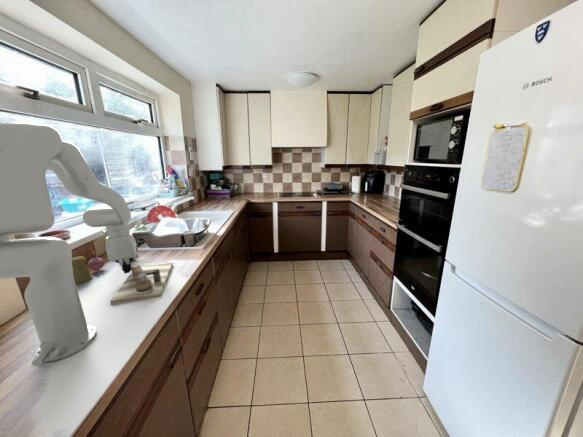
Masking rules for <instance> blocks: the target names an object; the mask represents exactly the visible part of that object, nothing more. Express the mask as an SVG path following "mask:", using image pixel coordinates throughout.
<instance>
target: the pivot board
mask: <svg viewBox="0 0 583 437" xmlns="http://www.w3.org/2000/svg"><path fill="white" fill-rule="evenodd" d="M173 265H174V264H173V262H167V263H159V264H154V265H153V264H152V265H145V266H141V268H142V270H143V272H138V273H137V274H136V276H138V275H139V274H142V273H146V275H147V276H146V277H147V279H150V280H151V284H152V288H151V289H149V290H147V291H144V292H138V291H137V289H136V285H135V284H136V282H135V279H134V277H133V275H132V271H130V272H131V273H130V274H129V275H128V276H127V277H126V279H125V281H124V282H123V283H122V284H121V286H120V287H119V289H118V290H117V291H116V292H115V294H114V295H113V296H112V298H111V299H110V301H109V302H110V305H111V306H112V305H119V304H124V303H127V302H128V303H129V302H136V301H140V300H141V301H142V300H147V299H151V298H152V299H153V298H157V297H161V296H162V293H163V291H164V288H165V286H166V284H167V281H168V279H169V276H170V273H171V271H172V268H173Z"/></svg>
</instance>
